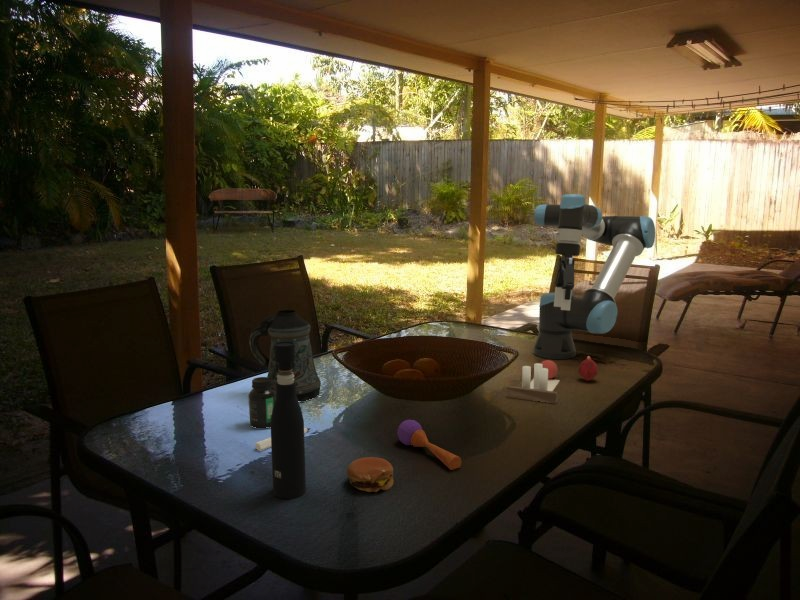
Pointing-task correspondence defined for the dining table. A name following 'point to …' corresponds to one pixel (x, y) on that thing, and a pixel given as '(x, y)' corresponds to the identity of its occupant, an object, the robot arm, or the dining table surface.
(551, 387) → the cream flat rectangular slab
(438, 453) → the maraca
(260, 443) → the marker
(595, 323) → the robot arm
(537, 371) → the front pin
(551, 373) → the ball
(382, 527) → the dining table surface
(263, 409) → the supplement bottle
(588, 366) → the onion
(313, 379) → the beer stein
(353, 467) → the burger
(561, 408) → the dining table surface
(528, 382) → the back pin right
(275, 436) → the black water bottle
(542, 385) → the back pin left
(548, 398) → the backstop
